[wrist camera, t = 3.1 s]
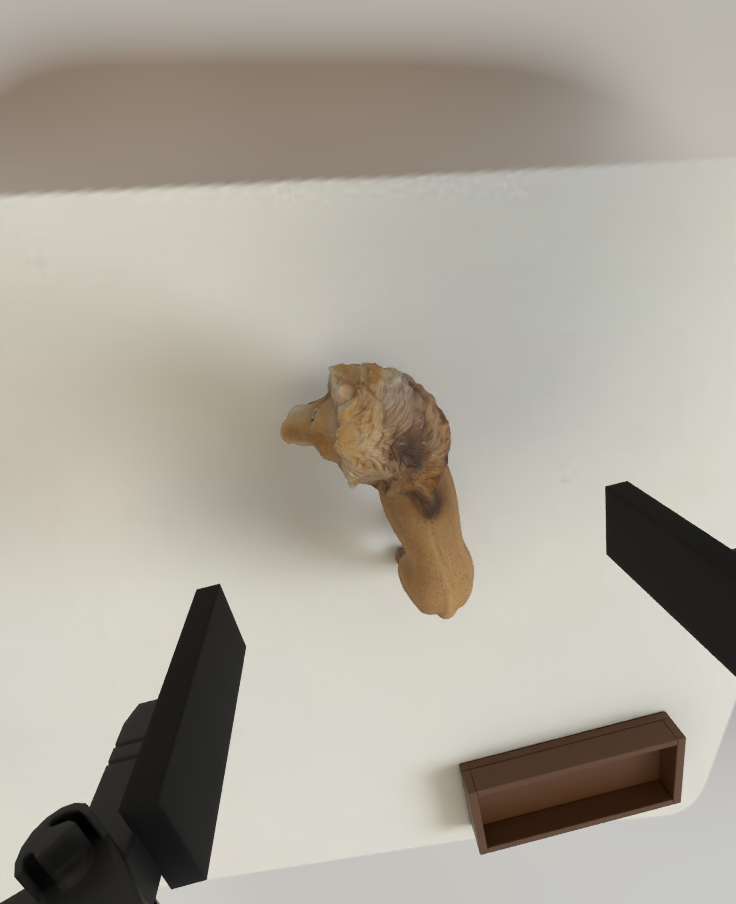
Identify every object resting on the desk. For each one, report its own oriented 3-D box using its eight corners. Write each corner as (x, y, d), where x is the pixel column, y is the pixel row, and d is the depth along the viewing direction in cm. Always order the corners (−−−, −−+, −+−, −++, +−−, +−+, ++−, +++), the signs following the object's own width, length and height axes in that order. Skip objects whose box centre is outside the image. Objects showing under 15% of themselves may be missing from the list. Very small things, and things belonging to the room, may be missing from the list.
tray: (665, 711, 33) (686, 737, 31) (661, 774, 36) (681, 802, 34) (459, 764, 32) (468, 794, 31) (471, 824, 35) (480, 855, 33)
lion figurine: (277, 367, 21) (253, 432, 13) (380, 311, 21) (425, 338, 12) (413, 591, 26) (458, 738, 18) (496, 549, 26) (582, 681, 18)
